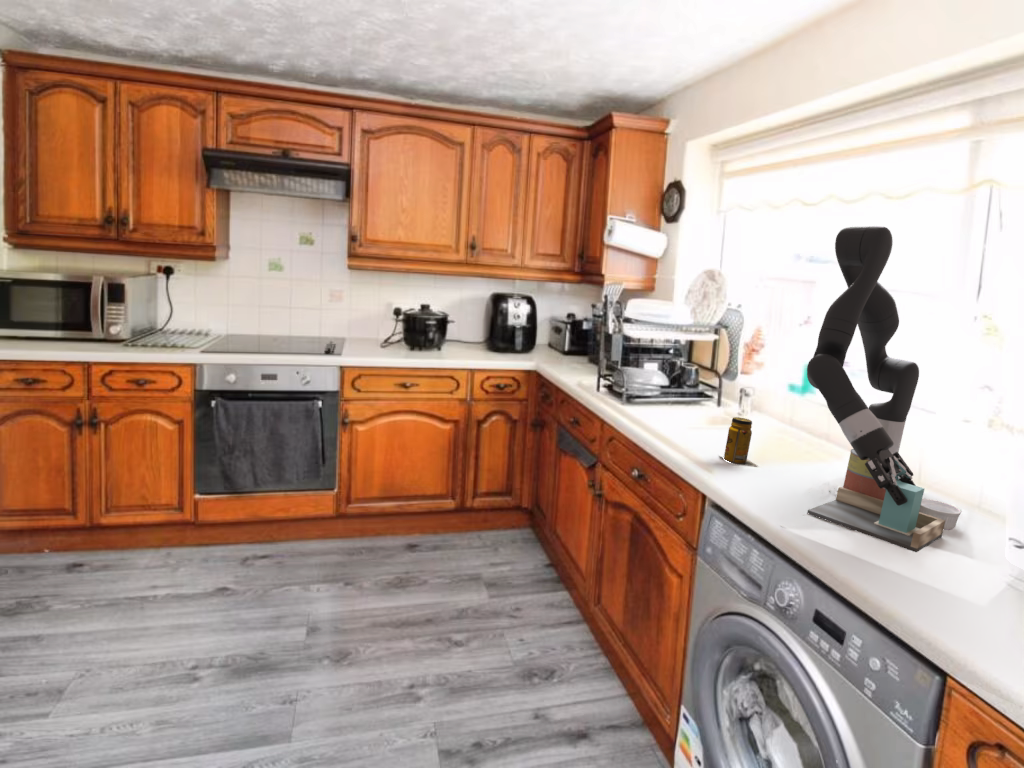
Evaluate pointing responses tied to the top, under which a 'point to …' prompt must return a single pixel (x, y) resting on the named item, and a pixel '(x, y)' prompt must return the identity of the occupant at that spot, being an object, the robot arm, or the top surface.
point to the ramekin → (941, 512)
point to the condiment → (739, 442)
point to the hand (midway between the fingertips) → (910, 500)
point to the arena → (877, 520)
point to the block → (902, 508)
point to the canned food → (861, 478)
